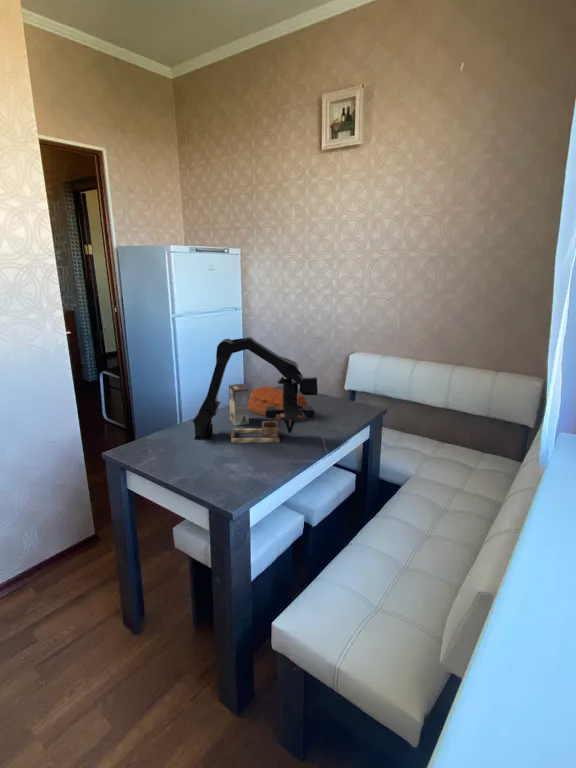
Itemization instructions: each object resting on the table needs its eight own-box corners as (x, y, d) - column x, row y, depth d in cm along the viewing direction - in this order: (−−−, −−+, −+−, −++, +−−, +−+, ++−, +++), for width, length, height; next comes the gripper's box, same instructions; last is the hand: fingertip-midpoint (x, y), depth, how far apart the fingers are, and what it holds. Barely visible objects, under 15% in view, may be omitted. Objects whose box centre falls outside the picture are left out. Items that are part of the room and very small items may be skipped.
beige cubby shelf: (230, 445, 159) (229, 438, 158) (232, 432, 170) (232, 426, 169) (283, 444, 160) (283, 437, 159) (282, 432, 171) (282, 425, 170)
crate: (262, 440, 161) (261, 428, 160) (262, 433, 168) (262, 421, 167) (277, 440, 162) (277, 428, 160) (277, 433, 168) (277, 421, 167)
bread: (268, 403, 207) (268, 382, 204) (311, 416, 190) (312, 393, 187) (245, 411, 195) (244, 389, 192) (289, 425, 179) (289, 402, 176)
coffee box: (229, 420, 184) (228, 384, 179) (243, 418, 186) (242, 383, 182) (234, 427, 176) (233, 390, 171) (249, 425, 178) (248, 389, 173)
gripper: (265, 401, 152) (265, 441, 157) (317, 401, 153) (315, 441, 157) (265, 392, 163) (265, 429, 167) (313, 392, 164) (312, 429, 168)
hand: (289, 432), depth 165 cm, fingers closed
